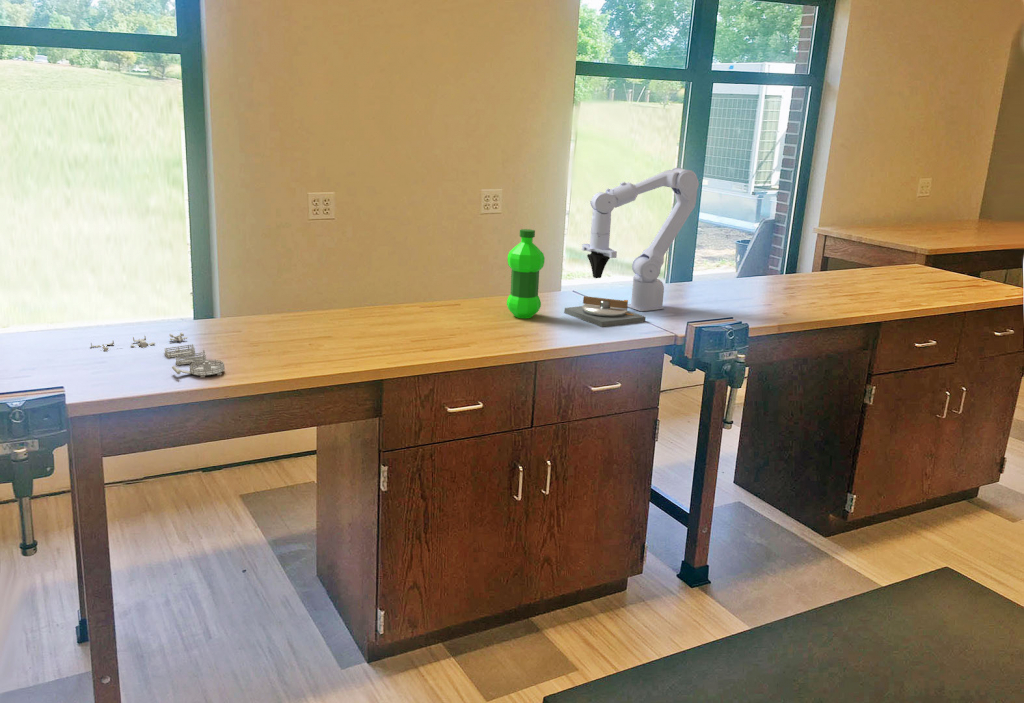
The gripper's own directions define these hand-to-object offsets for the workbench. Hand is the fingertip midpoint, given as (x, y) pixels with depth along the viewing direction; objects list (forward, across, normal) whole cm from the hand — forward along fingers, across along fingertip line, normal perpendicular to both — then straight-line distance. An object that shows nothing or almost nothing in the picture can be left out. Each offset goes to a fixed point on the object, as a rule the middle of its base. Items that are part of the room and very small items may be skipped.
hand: (597, 277), depth 268 cm
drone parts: (+10, +5, -129) cm, 129 cm away
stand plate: (+9, +11, -5) cm, 15 cm away
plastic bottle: (+10, +1, -27) cm, 29 cm away
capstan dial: (+8, +11, -5) cm, 14 cm away
